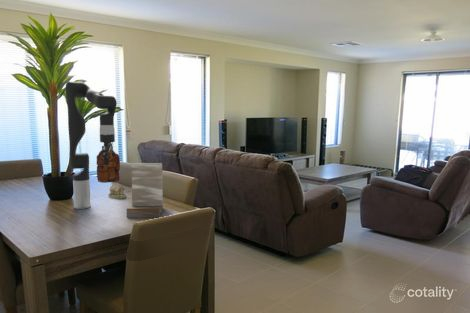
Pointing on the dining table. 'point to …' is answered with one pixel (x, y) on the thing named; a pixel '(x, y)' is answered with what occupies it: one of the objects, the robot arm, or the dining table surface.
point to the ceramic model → (117, 191)
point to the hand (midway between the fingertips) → (108, 163)
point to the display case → (146, 190)
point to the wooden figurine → (108, 168)
